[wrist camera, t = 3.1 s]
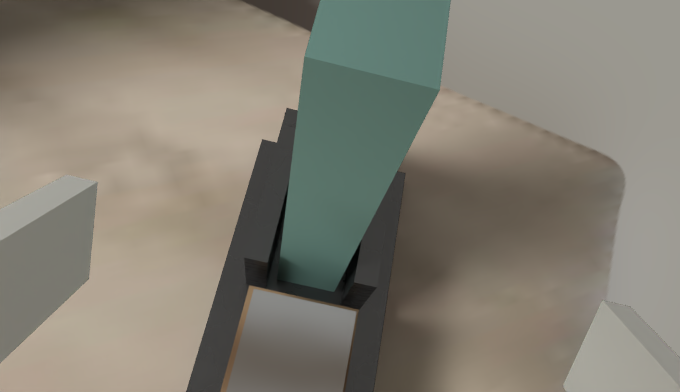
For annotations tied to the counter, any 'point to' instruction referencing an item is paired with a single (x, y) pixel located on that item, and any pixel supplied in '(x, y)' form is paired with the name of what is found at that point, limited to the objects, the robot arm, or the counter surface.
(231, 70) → the counter surface
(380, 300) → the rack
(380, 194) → the plank
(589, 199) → the counter surface
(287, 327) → the offcut top
